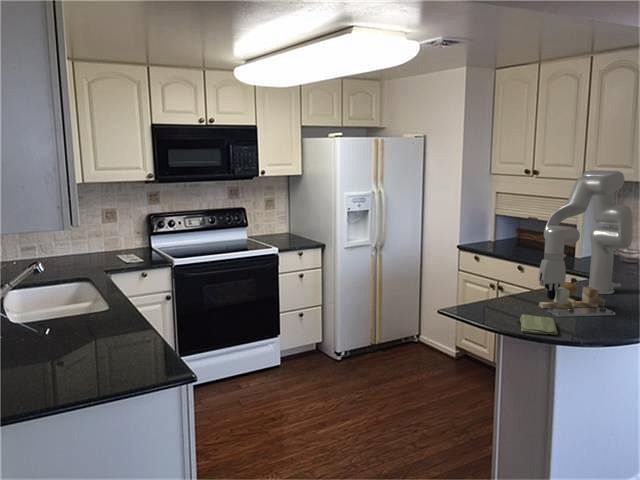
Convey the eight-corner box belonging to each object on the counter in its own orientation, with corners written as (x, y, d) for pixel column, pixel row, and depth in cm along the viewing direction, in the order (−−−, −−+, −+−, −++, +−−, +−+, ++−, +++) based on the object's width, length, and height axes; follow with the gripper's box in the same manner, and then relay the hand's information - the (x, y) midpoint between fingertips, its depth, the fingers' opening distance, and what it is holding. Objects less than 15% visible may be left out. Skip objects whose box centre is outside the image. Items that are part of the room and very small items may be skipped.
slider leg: (562, 300, 232) (563, 287, 231) (578, 308, 220) (579, 294, 219) (553, 301, 232) (554, 287, 231) (569, 309, 219) (570, 295, 219)
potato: (572, 302, 237) (574, 285, 236) (540, 297, 246) (541, 280, 245) (579, 298, 244) (580, 281, 243) (547, 293, 253) (548, 276, 252)
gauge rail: (592, 304, 234) (593, 286, 232) (610, 312, 221) (611, 294, 220) (537, 306, 231) (539, 288, 230) (552, 314, 219) (554, 295, 218)
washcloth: (520, 334, 197) (520, 326, 196) (519, 320, 213) (519, 312, 212) (558, 338, 192) (559, 329, 192) (554, 323, 209) (555, 315, 208)
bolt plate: (603, 309, 226) (603, 305, 225) (615, 315, 218) (615, 310, 218) (547, 311, 224) (547, 306, 223) (557, 317, 216) (557, 312, 215)
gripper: (565, 255, 230) (562, 296, 233) (532, 255, 229) (530, 297, 232) (575, 258, 223) (572, 300, 226) (541, 259, 222) (538, 301, 225)
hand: (551, 298), depth 229 cm, fingers closed
